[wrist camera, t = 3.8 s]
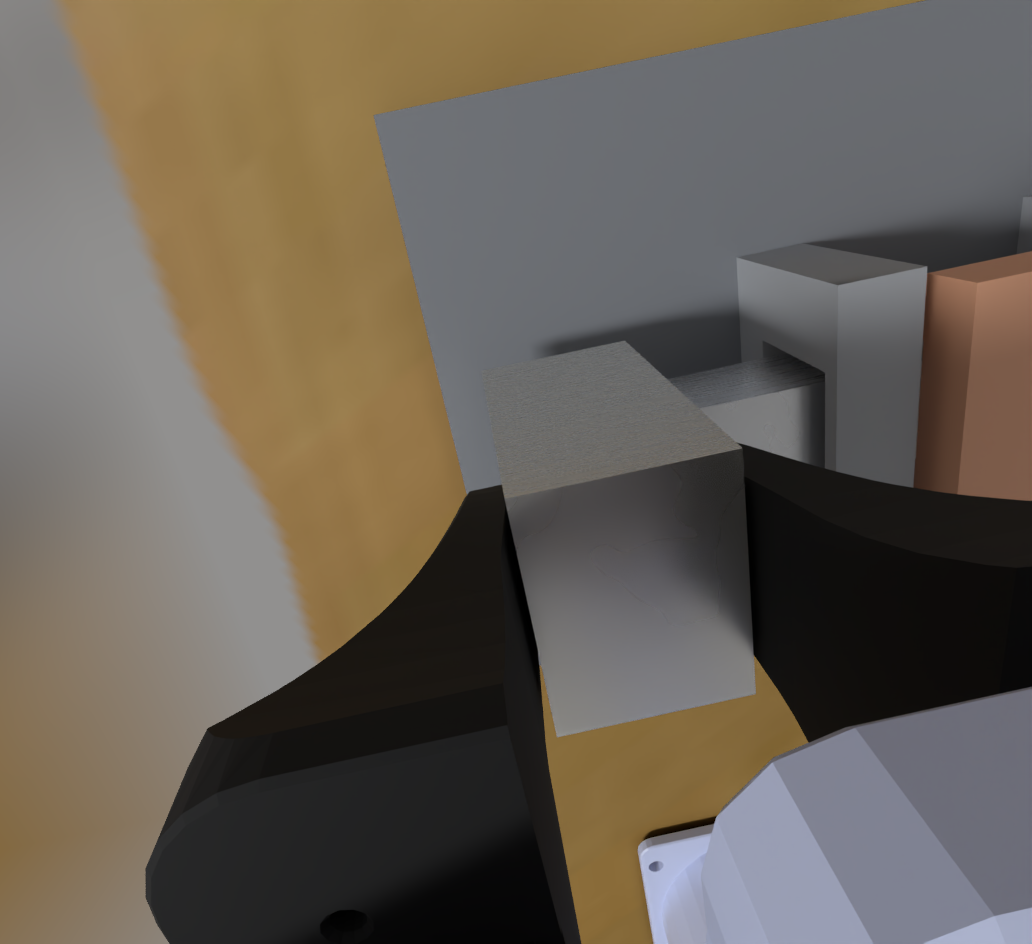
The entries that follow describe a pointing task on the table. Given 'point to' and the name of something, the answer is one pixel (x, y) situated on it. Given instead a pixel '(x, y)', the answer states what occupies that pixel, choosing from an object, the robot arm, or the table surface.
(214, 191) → the table surface
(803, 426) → the shaft
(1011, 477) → the spacer
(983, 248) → the bracket
